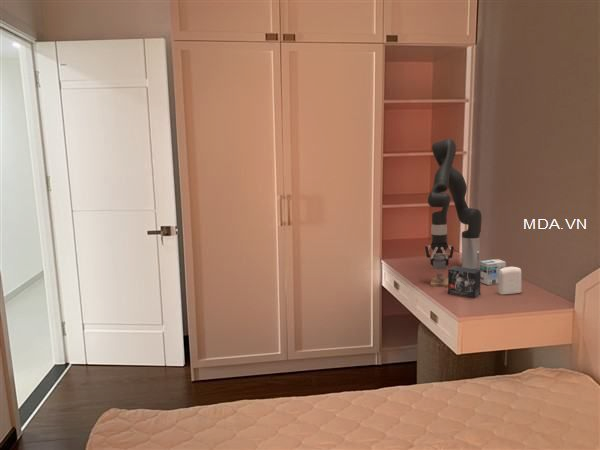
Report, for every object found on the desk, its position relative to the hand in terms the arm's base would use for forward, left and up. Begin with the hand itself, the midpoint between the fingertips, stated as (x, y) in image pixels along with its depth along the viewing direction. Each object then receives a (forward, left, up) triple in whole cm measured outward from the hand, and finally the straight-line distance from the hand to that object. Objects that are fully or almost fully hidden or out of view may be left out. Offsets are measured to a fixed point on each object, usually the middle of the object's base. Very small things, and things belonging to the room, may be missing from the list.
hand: (439, 265), depth 240 cm
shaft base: (-1, 0, -9) cm, 9 cm away
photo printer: (-31, +12, -9) cm, 35 cm away
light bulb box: (-25, -5, -9) cm, 27 cm away
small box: (-11, +16, -9) cm, 22 cm away
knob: (0, 0, -1) cm, 1 cm away
